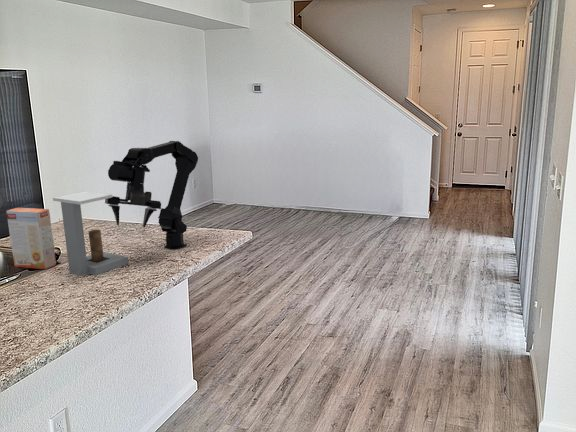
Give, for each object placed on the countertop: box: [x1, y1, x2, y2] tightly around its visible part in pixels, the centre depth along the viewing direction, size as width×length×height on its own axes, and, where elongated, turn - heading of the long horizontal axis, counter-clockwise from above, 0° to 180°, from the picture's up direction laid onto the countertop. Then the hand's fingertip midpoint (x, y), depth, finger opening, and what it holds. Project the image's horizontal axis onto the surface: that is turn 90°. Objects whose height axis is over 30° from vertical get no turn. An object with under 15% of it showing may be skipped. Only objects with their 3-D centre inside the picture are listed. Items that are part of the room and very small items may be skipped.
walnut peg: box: [88, 229, 104, 263], centre depth 185 cm, size 4×4×13 cm
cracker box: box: [6, 207, 57, 270], centre depth 186 cm, size 14×6×21 cm, turn 71°
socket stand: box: [52, 191, 129, 277], centre depth 183 cm, size 17×14×26 cm
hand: (131, 226), depth 188 cm, fingers open, 9 cm apart
